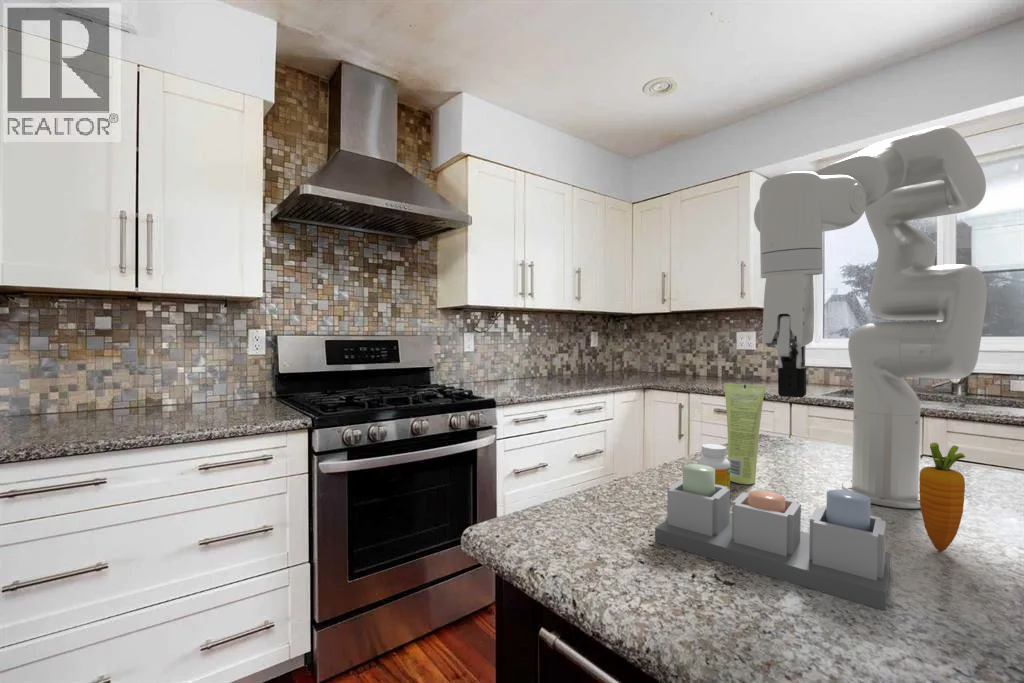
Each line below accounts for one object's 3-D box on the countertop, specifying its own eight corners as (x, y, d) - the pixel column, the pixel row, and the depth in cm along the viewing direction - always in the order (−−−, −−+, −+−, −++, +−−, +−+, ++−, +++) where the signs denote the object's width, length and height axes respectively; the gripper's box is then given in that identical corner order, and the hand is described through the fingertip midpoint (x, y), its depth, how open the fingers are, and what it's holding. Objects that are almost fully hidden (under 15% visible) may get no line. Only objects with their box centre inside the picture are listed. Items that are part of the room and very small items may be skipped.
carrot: (952, 546, 67) (955, 439, 67) (973, 562, 63) (976, 448, 62) (909, 541, 69) (912, 437, 69) (926, 556, 64) (929, 444, 64)
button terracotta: (752, 523, 68) (753, 488, 68) (787, 532, 65) (788, 495, 65) (743, 533, 65) (744, 496, 64) (780, 543, 62) (781, 504, 62)
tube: (746, 476, 99) (747, 382, 99) (764, 484, 94) (765, 385, 94) (722, 478, 98) (723, 382, 98) (739, 486, 93) (740, 385, 93)
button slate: (828, 525, 62) (829, 487, 62) (871, 535, 59) (871, 495, 59) (823, 537, 59) (824, 496, 59) (868, 547, 56) (869, 504, 56)
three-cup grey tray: (685, 516, 78) (686, 473, 78) (890, 568, 61) (891, 513, 61) (654, 541, 69) (655, 493, 69) (885, 610, 52) (886, 546, 52)
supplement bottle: (733, 507, 82) (734, 450, 82) (700, 505, 83) (700, 449, 83) (725, 496, 87) (726, 443, 87) (694, 494, 88) (695, 442, 88)
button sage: (688, 494, 74) (689, 462, 74) (718, 501, 71) (719, 467, 71) (677, 502, 70) (678, 468, 70) (708, 510, 67) (709, 474, 67)
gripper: (773, 270, 75) (774, 386, 76) (747, 265, 64) (749, 402, 65) (830, 265, 71) (830, 390, 72) (813, 259, 59) (814, 407, 60)
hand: (792, 395), depth 68 cm, fingers closed
